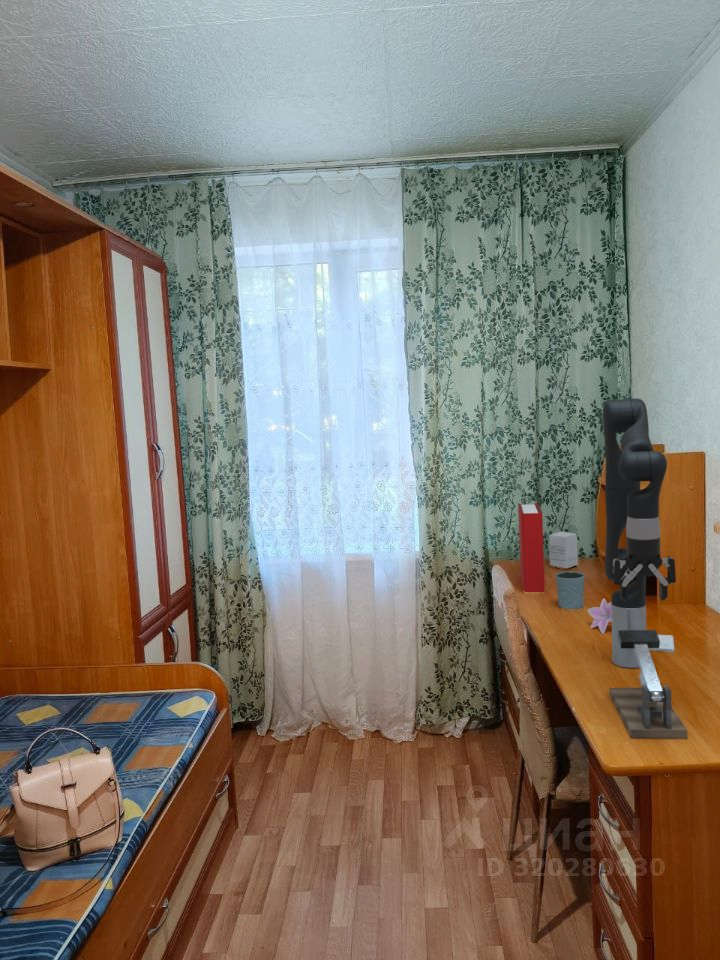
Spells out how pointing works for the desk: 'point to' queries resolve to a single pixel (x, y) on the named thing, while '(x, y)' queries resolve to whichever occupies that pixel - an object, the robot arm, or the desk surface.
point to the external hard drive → (665, 644)
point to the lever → (644, 658)
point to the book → (531, 547)
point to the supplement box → (563, 549)
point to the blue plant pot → (570, 589)
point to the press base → (647, 714)
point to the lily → (601, 615)
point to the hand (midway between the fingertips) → (643, 600)
